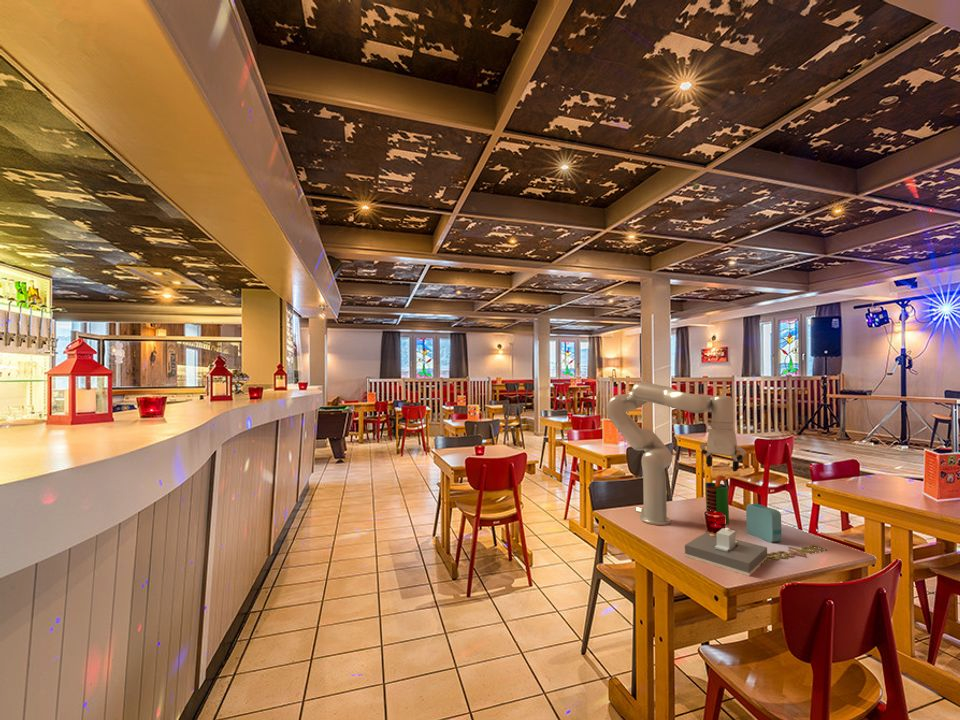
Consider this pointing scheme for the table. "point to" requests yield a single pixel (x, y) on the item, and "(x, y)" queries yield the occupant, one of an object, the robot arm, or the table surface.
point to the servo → (726, 540)
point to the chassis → (727, 554)
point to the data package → (763, 522)
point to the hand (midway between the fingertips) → (722, 468)
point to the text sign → (792, 553)
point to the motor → (717, 497)
